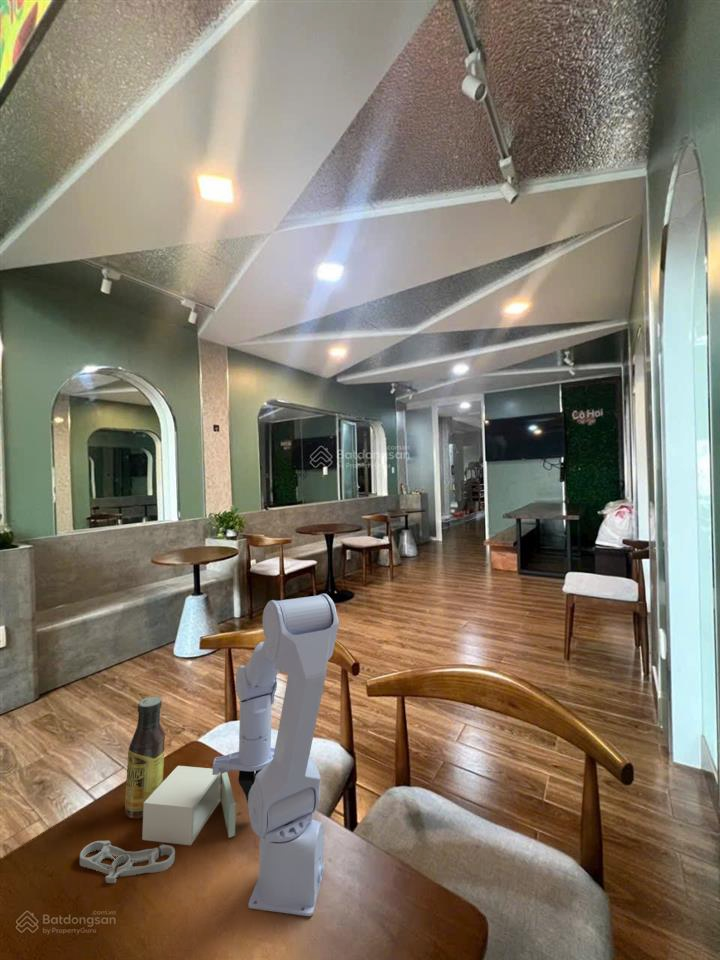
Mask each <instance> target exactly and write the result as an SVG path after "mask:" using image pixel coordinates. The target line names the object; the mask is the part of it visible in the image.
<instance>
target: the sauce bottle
mask: <svg viewBox="0 0 720 960" xmlns="http://www.w3.org/2000/svg"><path fill="white" fill-rule="evenodd" d="M162 701H163V700H162V698H161V697H159V696H148V697H145V698H143V699H141V700H140V701H139V702H138V704H137V713H138V716H137V717H138V719H137V725H136V729H135V731H134V733H133V736H132V739H131V742H130V743H129V746H128V752H127V753H128V755H127V766H126V768H127V769H126V780H125V782H126V783H125V797H124V806H125V814H126V816H127V817H128V818H131V819H137V820H140V819H143V807H144V802H145V801H146V800H147V799H148V798H149V797H150V795H151V794H152V793H153V792H154V791H155V790H156V789H157V788H158V787H159V786H160V785H161V783H162V782H163V781H164V765H165V752H166V751H165V748H166V747H165V740H166V734H165V730H164V728H163V727H162V725H161V724H160V721H161V718H160V716H161V715H160V714H161V707H162V705H163V704H162Z"/></svg>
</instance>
